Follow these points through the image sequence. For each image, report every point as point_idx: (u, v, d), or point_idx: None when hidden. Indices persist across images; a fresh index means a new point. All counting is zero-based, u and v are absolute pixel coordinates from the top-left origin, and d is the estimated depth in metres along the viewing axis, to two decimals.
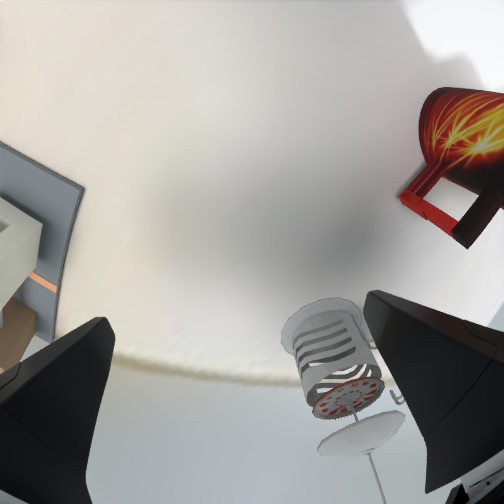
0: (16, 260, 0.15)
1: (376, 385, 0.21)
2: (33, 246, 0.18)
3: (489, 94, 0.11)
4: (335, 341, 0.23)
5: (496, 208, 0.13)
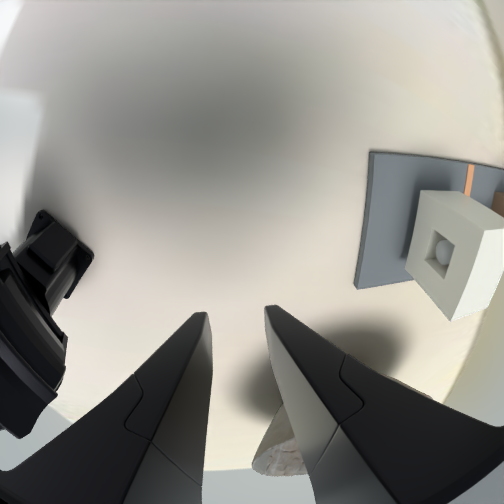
0: (466, 209, 0.14)
1: None
2: (444, 195, 0.17)
3: None
4: None
5: None
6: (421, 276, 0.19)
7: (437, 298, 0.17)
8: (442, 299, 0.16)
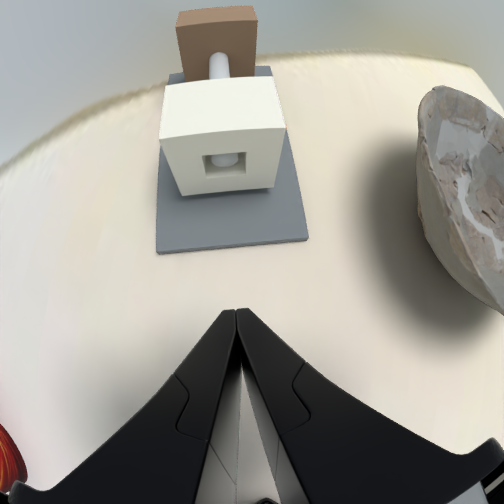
0: None
1: None
2: None
3: None
4: None
5: None
6: (265, 171, 0.19)
7: (273, 149, 0.16)
8: (269, 145, 0.16)
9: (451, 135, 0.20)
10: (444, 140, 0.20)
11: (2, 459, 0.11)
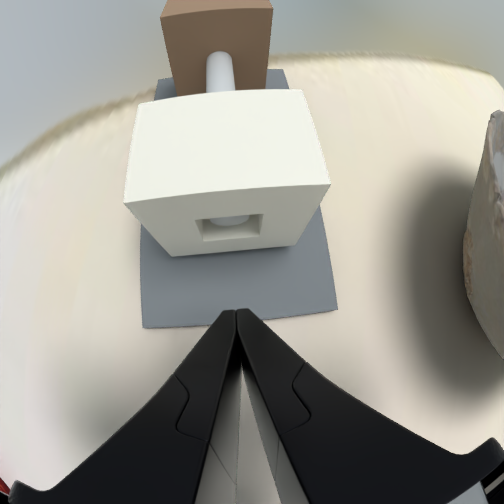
0: None
1: None
2: None
3: None
4: None
5: None
6: (288, 232, 0.14)
7: (304, 210, 0.11)
8: (299, 205, 0.11)
9: (500, 169, 0.15)
10: None
11: None
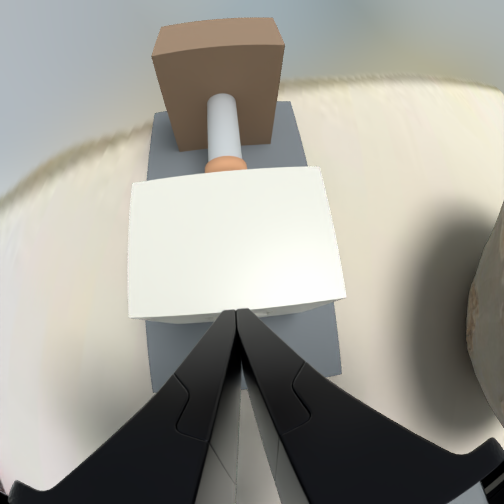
0: None
1: None
2: None
3: None
4: None
5: None
6: (296, 311, 0.13)
7: (315, 305, 0.11)
8: (310, 305, 0.10)
9: None
10: None
11: None
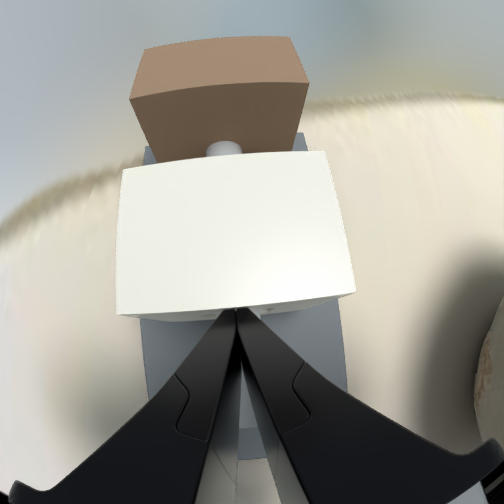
0: None
1: None
2: None
3: None
4: None
5: None
6: (299, 308, 0.12)
7: (320, 301, 0.10)
8: (316, 301, 0.09)
9: None
10: None
11: None
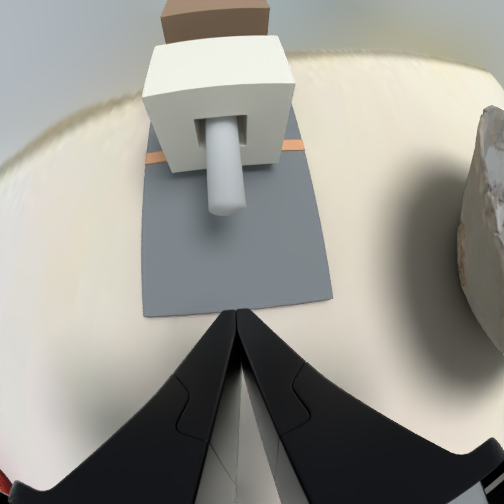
0: None
1: None
2: None
3: None
4: None
5: None
6: (270, 141, 0.15)
7: (279, 112, 0.13)
8: (274, 106, 0.12)
9: (494, 163, 0.15)
10: (486, 169, 0.15)
11: None
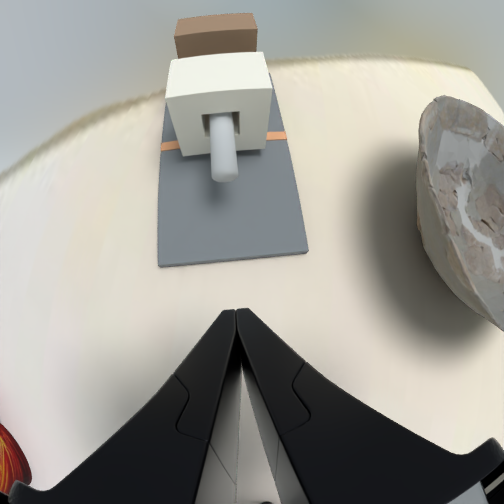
0: None
1: None
2: None
3: None
4: None
5: None
6: (257, 131, 0.20)
7: (262, 109, 0.18)
8: (258, 104, 0.17)
9: (452, 145, 0.20)
10: (444, 150, 0.20)
11: (7, 462, 0.12)
